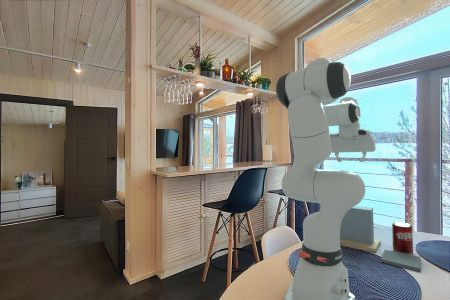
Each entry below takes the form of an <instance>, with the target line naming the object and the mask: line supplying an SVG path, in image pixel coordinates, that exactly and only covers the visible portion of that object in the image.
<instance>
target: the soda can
mask: <svg viewBox="0 0 450 300" xmlns="http://www.w3.org/2000/svg"><path fill="white" fill-rule="evenodd" d="M391 231H392V232H391V233H392V234H391V235H392V237H391V238H392V239H391V240H392V249H393V251H394V252H399V253H404V254H408V255H412V254H414V235H413V234H414V230H413V226H412V224H410V223H407V222H398V221H397V222H396V221H395V222H393V223H391Z"/></svg>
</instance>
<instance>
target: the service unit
mask: <svg viewBox="0 0 450 300" xmlns="http://www.w3.org/2000/svg"><path fill="white" fill-rule="evenodd" d="M374 224H375V223H374V207H369V206H368V207H367V206H360V205H359V206H358V205H356V206H354V207H352V208H351V209H350V210H349V211H348V212H347V213H346V214H345V215H344V217H343V219H342V222H341V227H340V246H344V247H348V248H353V249H358V250H362V251H367V252H371V253H377V252H378V249H379V247H380V244H381V239H378V238H375V232H374V231H375V229H374V226H375V225H374Z"/></svg>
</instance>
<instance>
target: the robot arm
mask: <svg viewBox="0 0 450 300" xmlns="http://www.w3.org/2000/svg"><path fill="white" fill-rule="evenodd" d="M351 77H352V76H351V73H350V70H349V68H348V67H347V65H346V64H344V63H342V62H341V61H331V60H329V59H328V58H325V57H318V58H317V57H316V58H314V59H313V60H311V61H310V62H309V63H308V64H307V65H306V66H305V67H304V68H301V69H297V70H295V71H293V72H287V73H285V74H283V75H282V76H280V77H279V78H278V80H277V82H276V85H275V93H276V97H277V99H278V100H279V102H280V103H281V104H282V105H283V106H284V107H285V108H286V109H287V110H288V111H287V113H288V114H287V116H288V127H289V128H288V129H289V134H290V139H291V142H292V143H291V144H292V148H293V150H292V151H293V155H294V156H293V161H292V162H293V163H292V165H291V167H290V168H289V170H287V171H286V172H285V173H284V175H283V177H282V179H281V190H282V192H283V194H284V195H285V196H286V197H287V198H290V199H293V200H296V201H298V202H299V201H300V202H305V203H307V202H308V203H315V204H319V205H320V206H319V207H320V208H319V210H318V211H317V212H316V211H315V212H313V213H310V214H309V215H306V217H305V218H304V219H303V222H302V237H303V238H302V239H303V242H302V246H301V250H299V251H298V257H299V258H300V259H299V262H298V264H297V266H296V270H295V273H294V275H293V279H292V281H291V284H290V285H289V287H288V289H287V292H286V293H285V296H284V300H356V296H355V295H354V294H353V293H352V292H351V291H350V285H349V284H350V283H349V273H348V269H347V267H346V266H345V265H344V264H343V251H342V246H341V245H340V227H341V222H342V219H343V217H344V215H345V214H346V213H347V212H348V211H349V210H350V209H351V208H352V207H354V206H358V205H359V204H360V203H361V202H362V201H363V199H364V197H365V195H366V185H365V182H364V180H363V179H362V177H361V176H360V175H359V174H358V173H356V172H351V171H347V170H341V169H319V168H317V165H320V164H322V163H323V162H325V161H326V160H327V159H328V158H330V156H331V155H332V153H334V156H335V157H336V159H337V163H342V162H343V158H342V157H340V156H339V155H340V153H361V154H362V155H363V156H362V157H359V162H360V163H364V162H365V158H366V156H367V153H371V152H372V153H374V152H375V151H376V150H377V149H376V141H375V138H374V136H372V133H373V132H372V130H368V129H365V128H361V124H360V118H361V108H360V106H359V102H358V99H357V98H356V97H350V96H349V97H344V96H345V95H346V94H347V93H348V91H349V90H350V85H351ZM341 97H343V98H341ZM340 98H341V99H340ZM338 100H339V101H338ZM336 101H338V103H337V104H333V103H335V102H336ZM337 126H338V133H330V128H329V127H337Z"/></svg>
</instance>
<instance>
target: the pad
mask: <svg viewBox="0 0 450 300" xmlns="http://www.w3.org/2000/svg"><path fill="white" fill-rule="evenodd" d="M380 262H381V263H383V262H384V263H383V264H388V265H392V266H395V267H400V268H402V269H403V268H404V269H408V270H413V271H417V272H421V256H418V255H412V254H404V253H399V252H396V251H395V250H393V251H392V250H388V249H384V250H383V253H382V255H381V258H380Z"/></svg>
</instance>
